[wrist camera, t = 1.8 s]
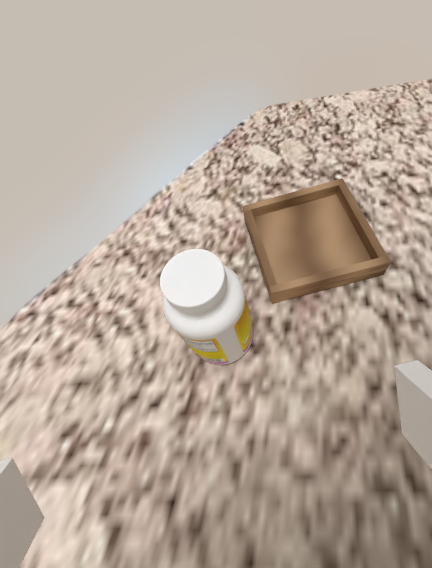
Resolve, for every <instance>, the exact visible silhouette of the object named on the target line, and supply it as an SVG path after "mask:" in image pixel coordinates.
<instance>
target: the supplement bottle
mask: <svg viewBox="0 0 432 568" xmlns="http://www.w3.org/2000/svg"><path fill="white" fill-rule="evenodd" d="M160 286H161V290H162V293H163V310H164V314H165V316H166V318H167V320H168V322H169V324H170V325H171V326H172V327H173V329H174V330H175V331H176V332H177V333H178V334H179V335H180V336H181V338H182V339H183V340H184V341H185V342H186V343H187V344H188V345H189V347H190V348H191V349H192V350H193V351H194V352H195V353H196V354H197V355H198V356H199V357H200V358H201V359H203V360H204V361H206V362H209V363H211V364H217V365H224V364H229V363H232V362H234V361H236V360H238V359H239V358H241V357H242V356H243V355H244V354H245V353H246V352H247V350H248V349H249V347H250V345H251V342H252V338H253V327H252V322H251V317H250V313H249V309H248V305H247V301H246V297H245V292H244V289H243V285H242V283H241V281H240V279H239V277H238V276H237V275H236V274H235V273H234V272H233V271H232V270H231V269H230V268H228V267H227V266H225V265H223V264H222V262H221V260H220V259H219V258H218V257H217V256H216V255H214V254H213V253H211V252H209V251H207V250H203V249H191V250H186V251H183V252H181V253H179V254H177V255H175V256H174V257H173V258H172V259H170V260H169V262H168V263H167V264H166V265H165V267H164V269H163V271H162V273H161V278H160Z"/></svg>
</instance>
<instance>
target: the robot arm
mask: <svg viewBox="0 0 432 568" xmlns="http://www.w3.org/2000/svg"><path fill="white" fill-rule="evenodd" d="M394 368H395V377H396V386H397V394H398V403H399V412H400V421H401V429H402V435H403V436H404V437H405V438H406V439H407V441H408V442H409V443H410V444H411V445H412V447H413V448H414V449H415V450H416V451H417V453H418V454H419V455H420V456H421V458H422V459H423V460H424V461H425V462H426V464H427V465H428V466H429V467H430V468H431V470H432V371H431V370H430V369H429V368H427V367H426V366H425V365H423V364H422V363H421V362H419V361H418V360H416V361H412V362H408V363H403V364H399V365H395V366H394ZM43 519H44V516H43V514H42V512H41V510H40V508H39V506H38V505H37V503H36V501H35V499H34V497H33V495H32V493H31V492H30V490H29V488H28V486H27V484H26V482H25V480H24V478H23V477H22V475H21V473H20V471H19V469H18V467H17V465H16V464H15V462H14V460H13V458H10V459H6V460H2V461H0V568H19V567H20V565H21V563H22V561H23V559H24V557H25V555H26V553H27V551H28V549H29V547H30V545H31V543H32V541H33V539H34V537H35V535H36V533H37V531H38V529H39V527H40V525H41V523H42V521H43Z"/></svg>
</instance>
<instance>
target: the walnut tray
mask: <svg viewBox="0 0 432 568" xmlns="http://www.w3.org/2000/svg"><path fill="white" fill-rule="evenodd" d="M243 211H244V218H245V222H246V225H247V228H248V231H249V234H250V237H251V240H252V244H253V247H254V250H255V253H256V256H257V259H258V262H259V265H260V268H261V271H262V274H263V278H264V281H265V284H266V287H267V290H268V293H269V296H270V299H271V302H272V303H276V302H280V301H284V300H288V299H291V298H295V297H299V296H303V295H307V294H311V293H314V292H318V291H322V290H326V289H330V288H334V287H337V286H341V285H345V284H349V283H353V282H357V281H361V280H364V279H368V278H372V277H376V276H380V275H383V274H384V273H385V271H386V269H387V268H388V266H389V264H390V263H391V262H390V260H389V258H388V256H387V255H386V253H385V251H384V250H383V248H382V246H381V244H380V243H379V241H378V239H377V237H376V236H375V234H374V232H373V231H372V229H371V227H370V225H369V224H368V222H367V220H366V218H365V217H364V215H363V213H362V211H361V210H360V208H359V206H358V205H357V203H356V201H355V199H354V198H353V196H352V194H351V192H350V191H349V189H348V187H347V186H346V184H345V182H344V180H343V179H339V180H335V181H331V182H328V183H324V184H321V185H317V186H314V187H310V188H306V189H303V190H299V191H296V192H292V193H289V194H285V195H281V196H278V197H274V198H271V199H267V200H264V201H260V202H256V203H253V204H249V205H246V206H243Z"/></svg>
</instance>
